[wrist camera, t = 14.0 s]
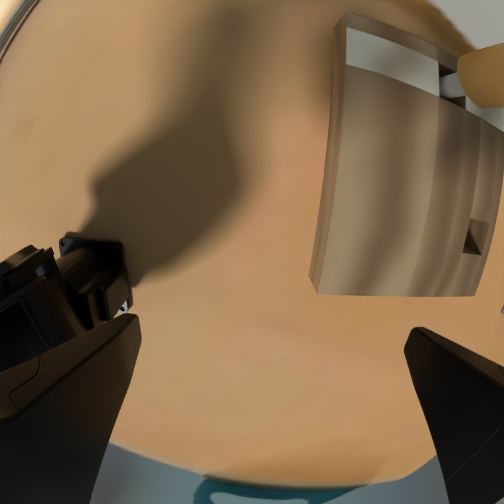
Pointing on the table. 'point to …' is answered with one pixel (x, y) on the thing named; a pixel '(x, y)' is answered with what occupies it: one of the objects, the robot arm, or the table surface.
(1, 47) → the combination wrench
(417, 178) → the subfloor panel
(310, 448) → the table surface
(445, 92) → the tan handled tool
